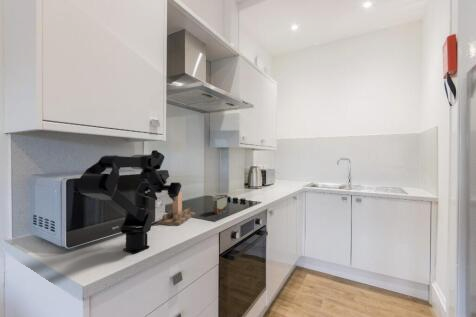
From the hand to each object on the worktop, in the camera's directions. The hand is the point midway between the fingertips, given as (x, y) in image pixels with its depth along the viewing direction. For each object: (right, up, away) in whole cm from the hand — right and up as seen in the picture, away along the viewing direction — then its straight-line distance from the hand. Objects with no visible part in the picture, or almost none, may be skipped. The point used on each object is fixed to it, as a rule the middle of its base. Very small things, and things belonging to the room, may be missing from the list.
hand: (165, 199), depth 103 cm
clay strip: (+1, -12, +16) cm, 20 cm away
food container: (+21, -14, +32) cm, 41 cm away
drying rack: (+1, -14, +17) cm, 21 cm away
